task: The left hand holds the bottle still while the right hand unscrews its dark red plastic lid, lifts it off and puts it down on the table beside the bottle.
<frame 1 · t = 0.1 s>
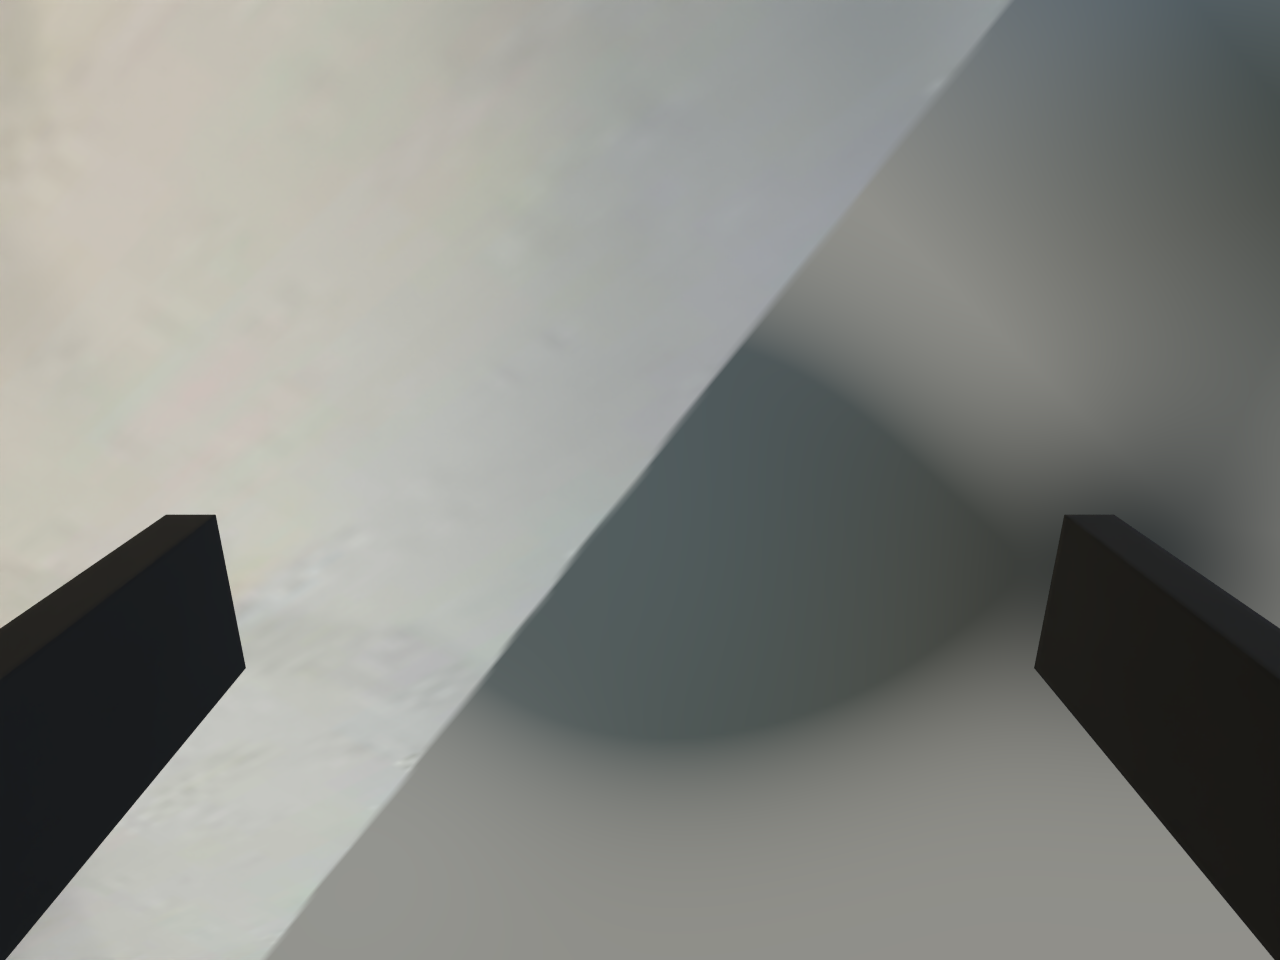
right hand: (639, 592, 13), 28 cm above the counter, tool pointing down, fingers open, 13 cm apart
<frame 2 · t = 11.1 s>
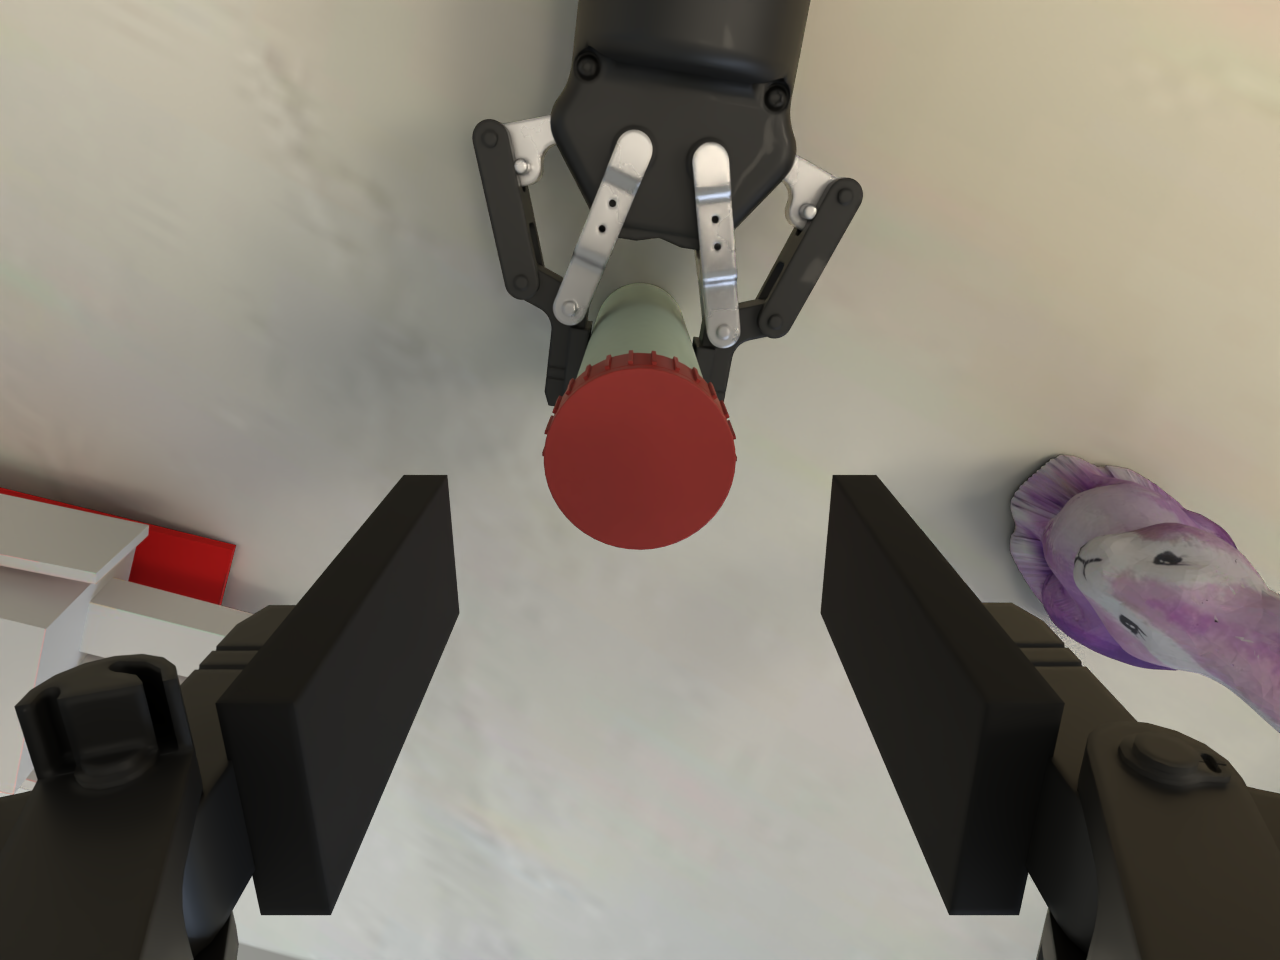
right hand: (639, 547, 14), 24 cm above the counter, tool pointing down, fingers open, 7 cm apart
left hand: (630, 425, 31), fingers closed on bottle, 4 cm apart
bottle: (639, 327, 37), on the counter, touching left hand
figurine: (1076, 533, 40), on the counter
lid: (639, 458, 19), point 19 cm above the counter, screwed on, not yet turned
toy: (3, 537, 40), on the counter
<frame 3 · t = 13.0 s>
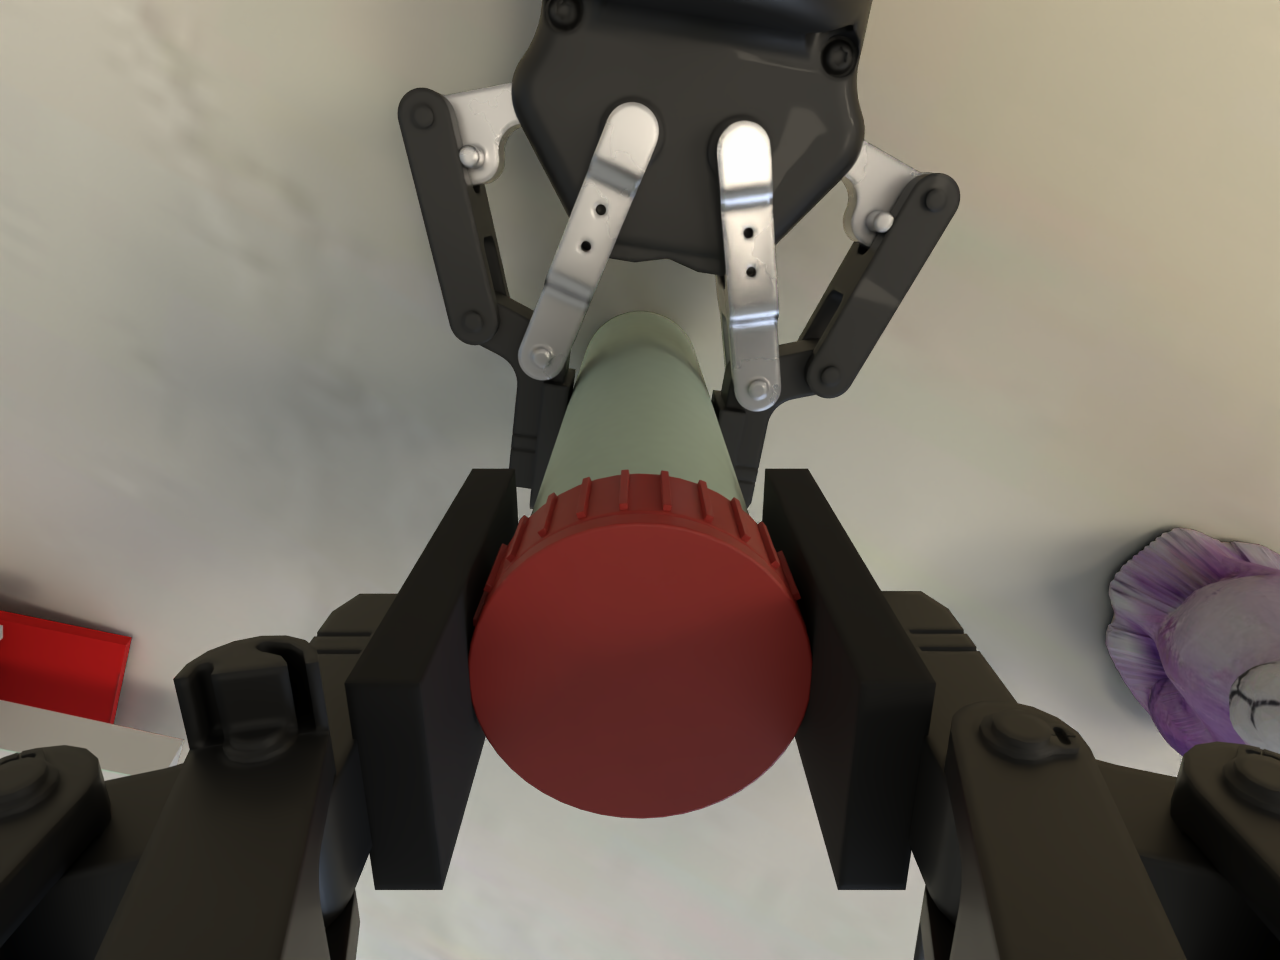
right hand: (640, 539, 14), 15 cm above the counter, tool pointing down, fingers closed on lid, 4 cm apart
left hand: (627, 509, 23), fingers closed on bottle, 4 cm apart
bottle: (640, 368, 28), on the counter, touching left hand
figurine: (1189, 623, 32), on the counter
lid: (640, 667, 11), point 19 cm above the counter, screwed on, not yet turned, touching right hand
when the right hand's fingers open (15 cm above the counter, at t = 14.3 s): lid stays where it is, point 19 cm above the counter.
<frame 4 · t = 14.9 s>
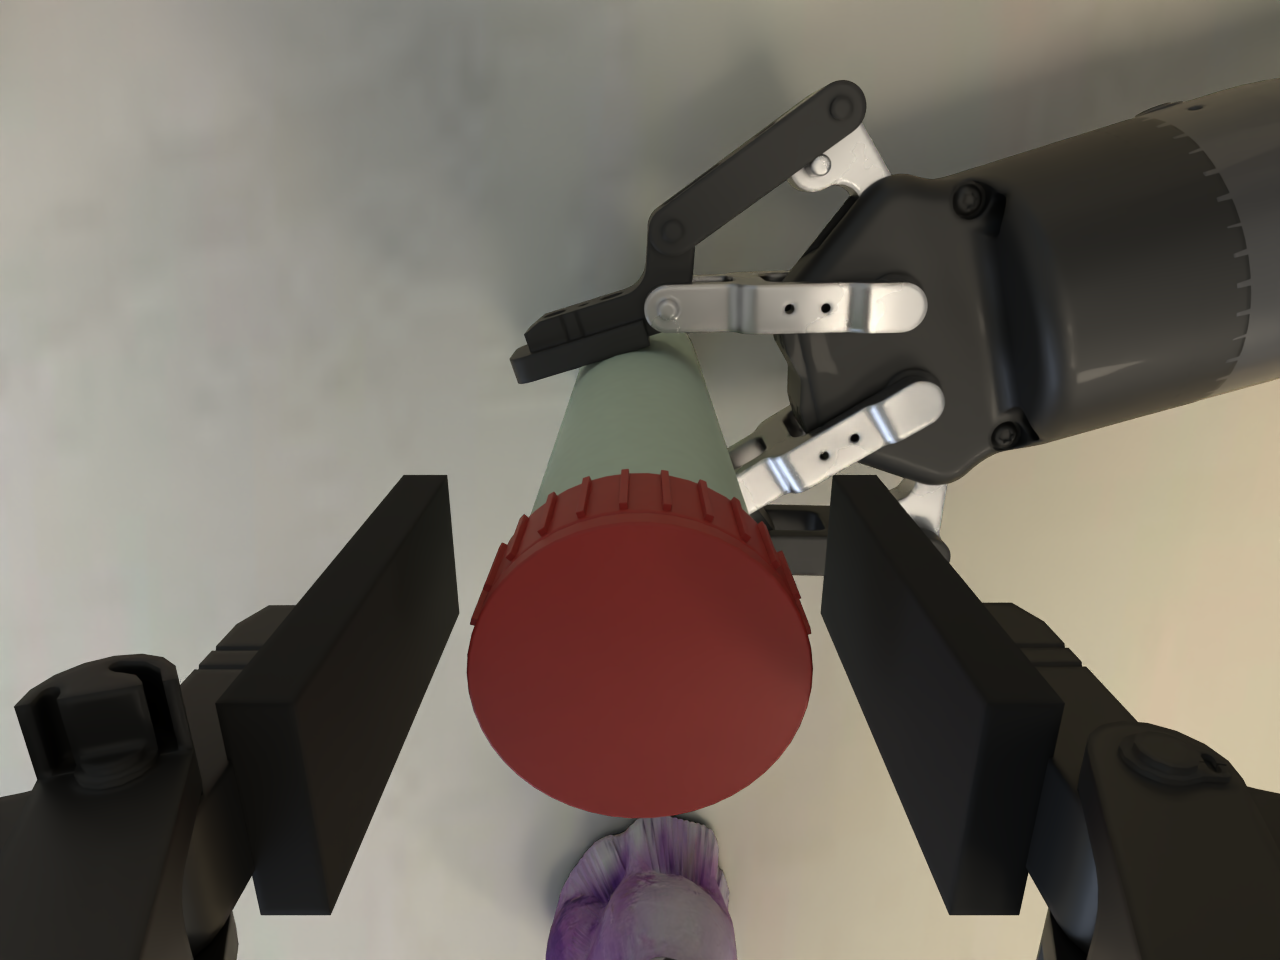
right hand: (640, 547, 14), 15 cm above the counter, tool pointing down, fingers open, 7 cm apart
left hand: (548, 443, 23), fingers closed on bottle, 4 cm apart
bottle: (640, 365, 29), on the counter, touching left hand
figurine: (642, 883, 37), on the counter
lid: (639, 666, 11), point 19 cm above the counter, turned 106° so far, risen 0.4 cm, still on its thread
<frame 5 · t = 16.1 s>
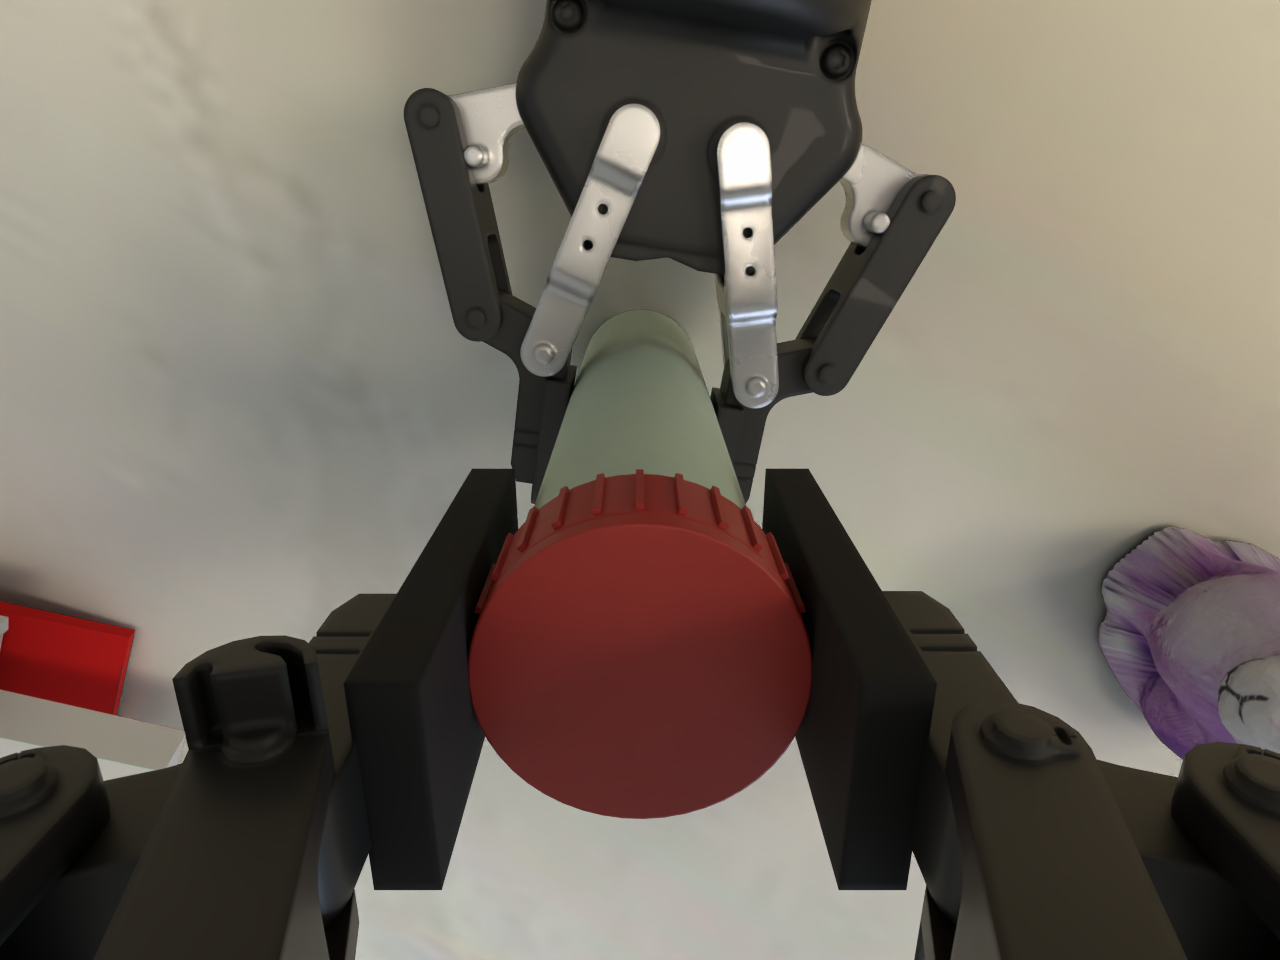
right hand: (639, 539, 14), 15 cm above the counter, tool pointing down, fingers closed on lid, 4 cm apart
left hand: (626, 504, 23), fingers closed on bottle, 4 cm apart
bottle: (640, 365, 29), on the counter, touching left hand
figurine: (1181, 621, 32), on the counter
lid: (640, 667, 11), point 19 cm above the counter, turned 106° so far, risen 0.4 cm, still on its thread, touching right hand
when the right hand's fingers open (0 cm above the counter, at t = 23.7 s): lid drops 3 cm, point 2 cm above the counter.
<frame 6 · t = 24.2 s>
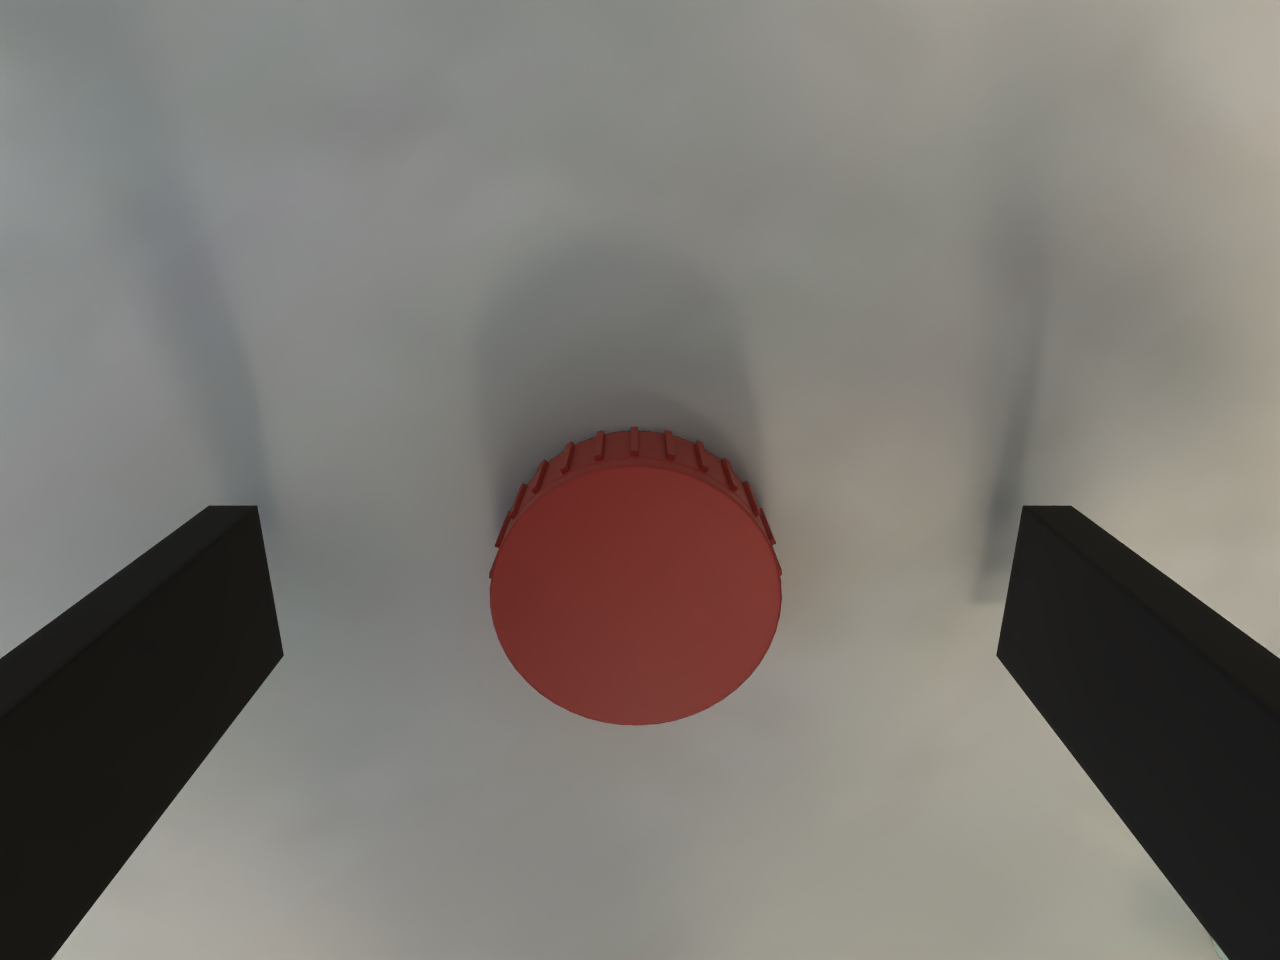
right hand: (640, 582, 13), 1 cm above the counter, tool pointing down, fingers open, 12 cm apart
lid: (635, 593, 13), point 2 cm above the counter, off its thread
when the left hand's fingers open (7 cm above the counter, at t = 24.9 s): bottle stays where it is, on the counter.
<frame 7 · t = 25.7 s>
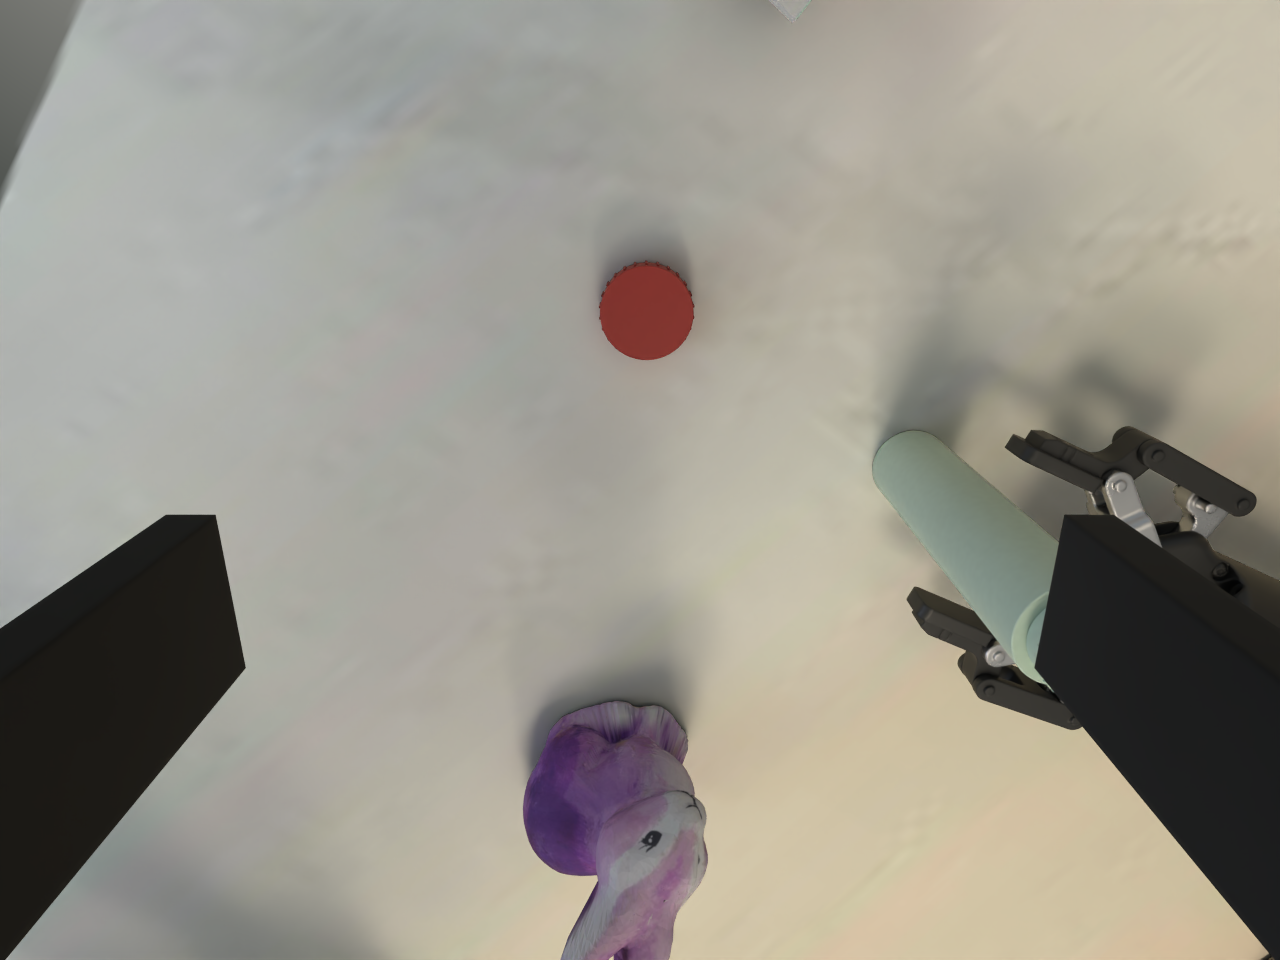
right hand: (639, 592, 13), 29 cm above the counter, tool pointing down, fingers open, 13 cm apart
bottle: (909, 466, 43), on the counter
figurine: (613, 745, 49), on the counter
lid: (646, 312, 38), point 2 cm above the counter, off its thread
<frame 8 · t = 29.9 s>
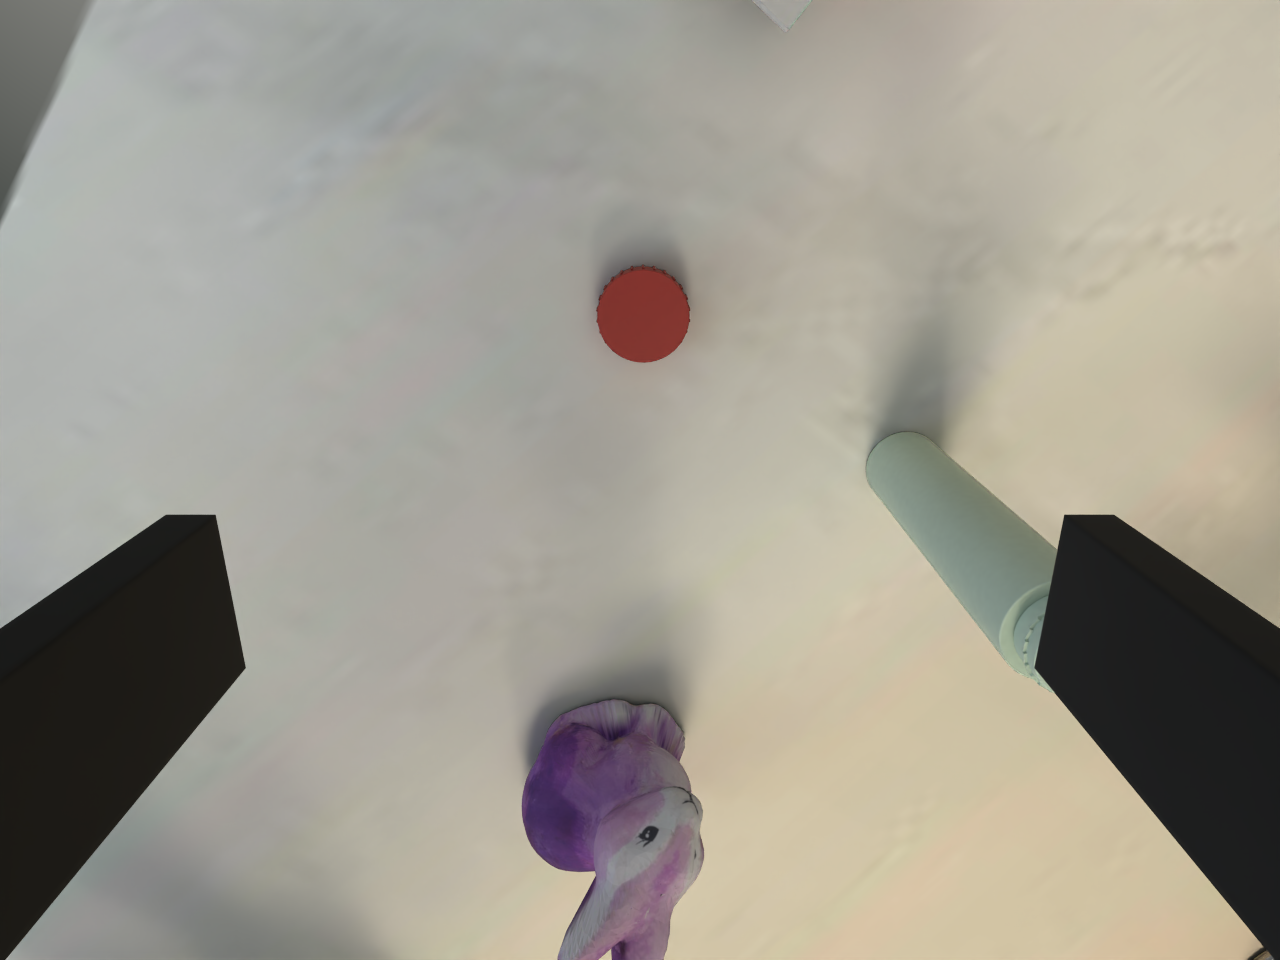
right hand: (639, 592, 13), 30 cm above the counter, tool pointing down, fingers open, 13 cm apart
bottle: (902, 466, 43), on the counter
figurine: (610, 743, 50), on the counter
lid: (643, 316, 39), point 2 cm above the counter, off its thread
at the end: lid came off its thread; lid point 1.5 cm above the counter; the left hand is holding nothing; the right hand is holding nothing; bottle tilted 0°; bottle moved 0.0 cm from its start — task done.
